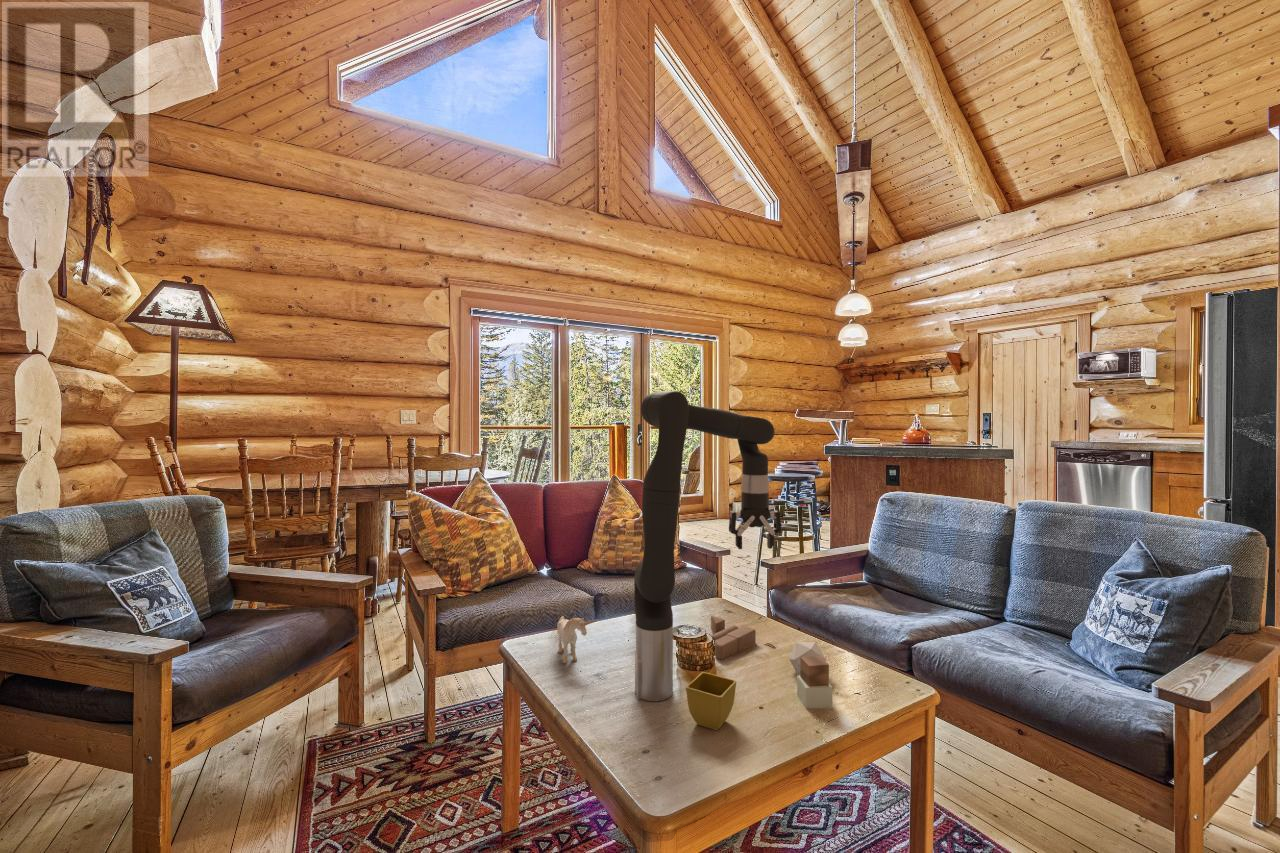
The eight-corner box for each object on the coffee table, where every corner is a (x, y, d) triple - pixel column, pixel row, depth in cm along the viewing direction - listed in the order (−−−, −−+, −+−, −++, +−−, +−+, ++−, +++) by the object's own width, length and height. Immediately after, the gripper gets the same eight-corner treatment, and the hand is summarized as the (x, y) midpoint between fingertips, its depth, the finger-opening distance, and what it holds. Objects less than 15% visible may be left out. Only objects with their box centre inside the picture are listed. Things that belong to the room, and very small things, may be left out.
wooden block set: (757, 625, 172) (722, 642, 159) (757, 643, 172) (722, 662, 160) (713, 611, 184) (676, 626, 171) (713, 628, 184) (676, 645, 171)
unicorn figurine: (576, 675, 151) (576, 625, 151) (543, 650, 167) (543, 605, 166) (599, 667, 155) (599, 619, 155) (565, 644, 171) (564, 600, 171)
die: (819, 687, 145) (835, 651, 148) (788, 668, 147) (804, 632, 150) (809, 684, 153) (825, 650, 156) (779, 665, 155) (796, 632, 158)
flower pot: (721, 738, 121) (721, 696, 121) (684, 726, 126) (685, 686, 126) (737, 719, 129) (737, 680, 129) (702, 708, 133) (702, 671, 133)
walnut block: (808, 686, 134) (808, 665, 134) (800, 676, 139) (800, 656, 139) (828, 685, 135) (828, 664, 135) (819, 675, 140) (819, 655, 140)
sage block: (805, 708, 134) (805, 687, 134) (797, 695, 140) (797, 675, 140) (832, 708, 134) (832, 687, 134) (822, 694, 140) (822, 674, 140)
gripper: (733, 492, 153) (733, 552, 153) (784, 491, 154) (784, 551, 154) (726, 489, 160) (726, 546, 160) (775, 488, 162) (775, 544, 162)
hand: (754, 548), depth 157 cm, fingers open, 8 cm apart
